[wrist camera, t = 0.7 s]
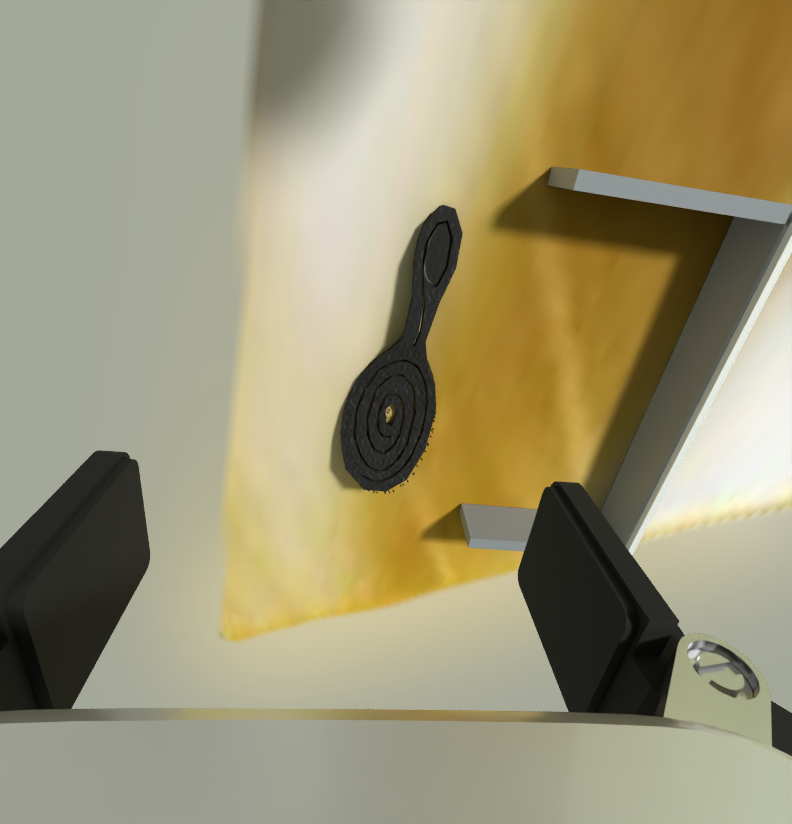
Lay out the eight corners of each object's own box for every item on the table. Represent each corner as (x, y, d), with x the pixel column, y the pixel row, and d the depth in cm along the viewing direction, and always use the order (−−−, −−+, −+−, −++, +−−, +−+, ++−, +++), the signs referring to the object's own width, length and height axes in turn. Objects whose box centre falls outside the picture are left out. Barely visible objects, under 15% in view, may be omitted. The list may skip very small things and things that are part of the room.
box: (551, 166, 34) (583, 169, 29) (756, 201, 36) (818, 209, 31) (458, 512, 49) (469, 552, 44) (605, 523, 51) (631, 562, 46)
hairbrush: (509, 223, 33) (416, 504, 44) (496, 219, 37) (412, 481, 47) (396, 191, 32) (328, 489, 42) (392, 190, 35) (330, 467, 46)
